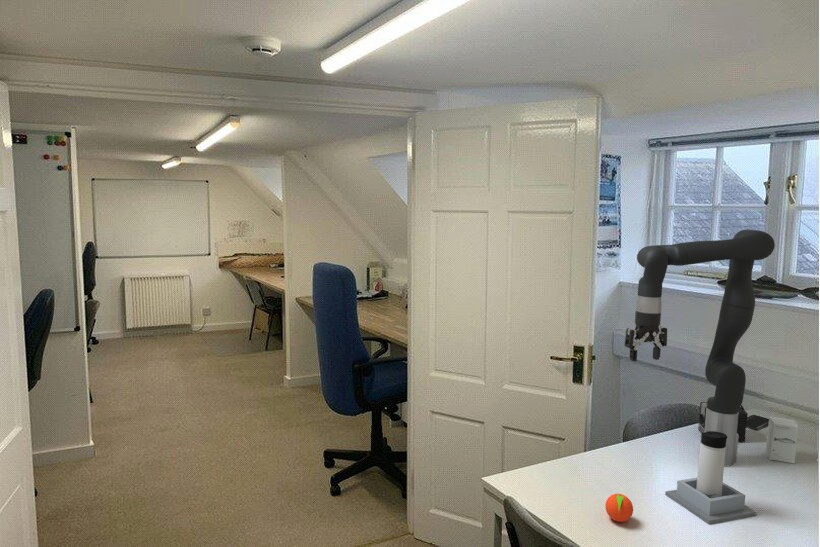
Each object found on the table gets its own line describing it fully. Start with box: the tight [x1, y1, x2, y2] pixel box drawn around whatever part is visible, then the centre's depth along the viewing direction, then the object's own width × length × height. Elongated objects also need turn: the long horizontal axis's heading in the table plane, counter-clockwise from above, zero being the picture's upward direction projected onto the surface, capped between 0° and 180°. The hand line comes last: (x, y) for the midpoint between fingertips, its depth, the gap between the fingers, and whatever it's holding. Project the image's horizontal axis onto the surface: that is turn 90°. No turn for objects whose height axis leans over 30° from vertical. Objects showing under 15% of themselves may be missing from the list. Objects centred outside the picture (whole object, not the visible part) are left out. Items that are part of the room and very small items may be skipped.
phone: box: [746, 414, 769, 431], centre depth 227 cm, size 8×1×15 cm
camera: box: [697, 401, 749, 443], centre depth 214 cm, size 11×14×15 cm
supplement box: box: [765, 416, 800, 464], centre depth 196 cm, size 7×7×13 cm
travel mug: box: [696, 431, 727, 498], centre depth 164 cm, size 6×7×20 cm
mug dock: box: [664, 477, 757, 525], centre depth 165 cm, size 16×16×5 cm
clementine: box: [605, 493, 634, 523], centre depth 156 cm, size 8×7×7 cm
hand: (644, 360), depth 190 cm, fingers open, 8 cm apart
